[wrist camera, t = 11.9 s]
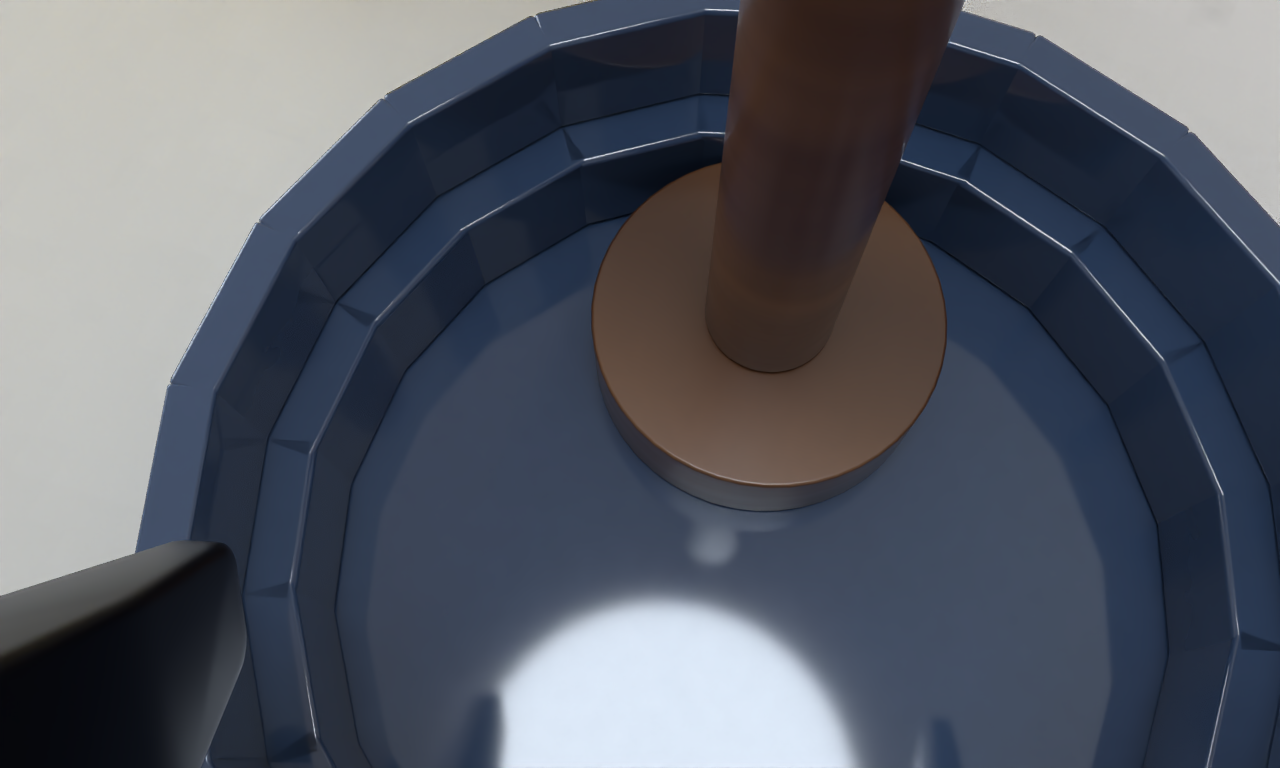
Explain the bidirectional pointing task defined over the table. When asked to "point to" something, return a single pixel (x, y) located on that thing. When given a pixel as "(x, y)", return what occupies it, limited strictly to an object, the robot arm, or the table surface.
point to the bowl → (714, 534)
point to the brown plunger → (784, 268)
